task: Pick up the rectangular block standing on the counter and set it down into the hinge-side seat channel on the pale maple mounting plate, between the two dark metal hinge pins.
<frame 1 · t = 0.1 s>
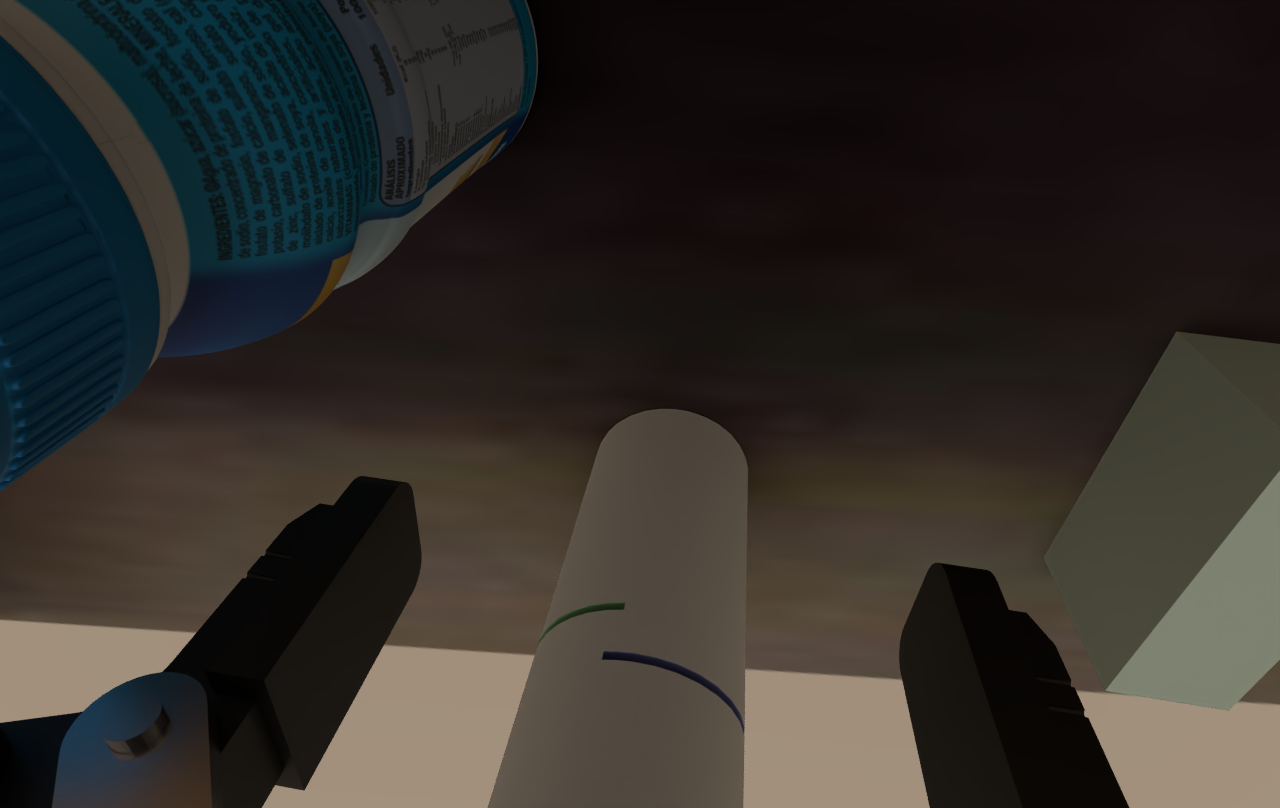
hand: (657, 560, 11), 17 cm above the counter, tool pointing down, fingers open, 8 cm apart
rectangular block: (1157, 464, 28), on the counter
cylindrical container: (671, 468, 32), on the counter
beverage bottle: (427, 44, 23), on the counter
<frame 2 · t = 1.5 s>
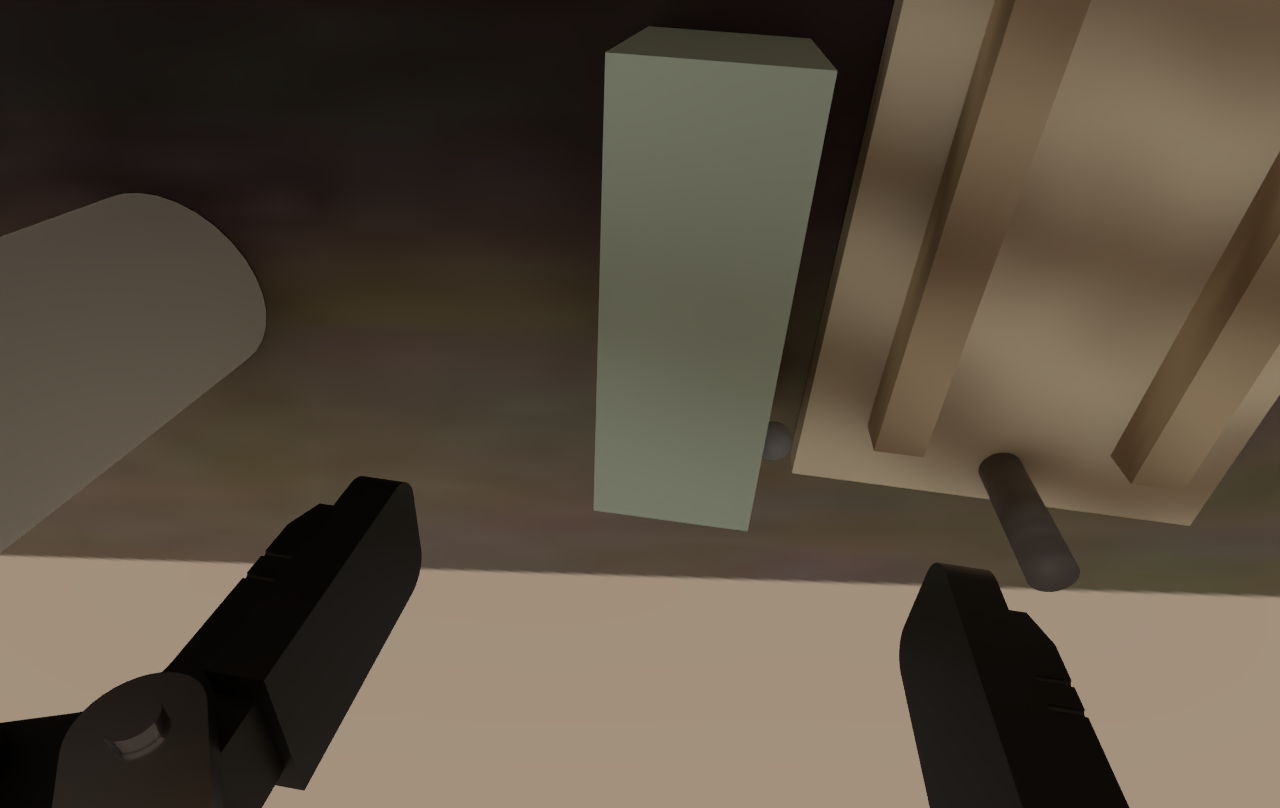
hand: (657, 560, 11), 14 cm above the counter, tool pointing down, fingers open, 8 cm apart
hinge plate: (1089, 216, 20), on the counter
rectangular block: (705, 239, 22), on the counter
cylindrical container: (178, 285, 26), on the counter
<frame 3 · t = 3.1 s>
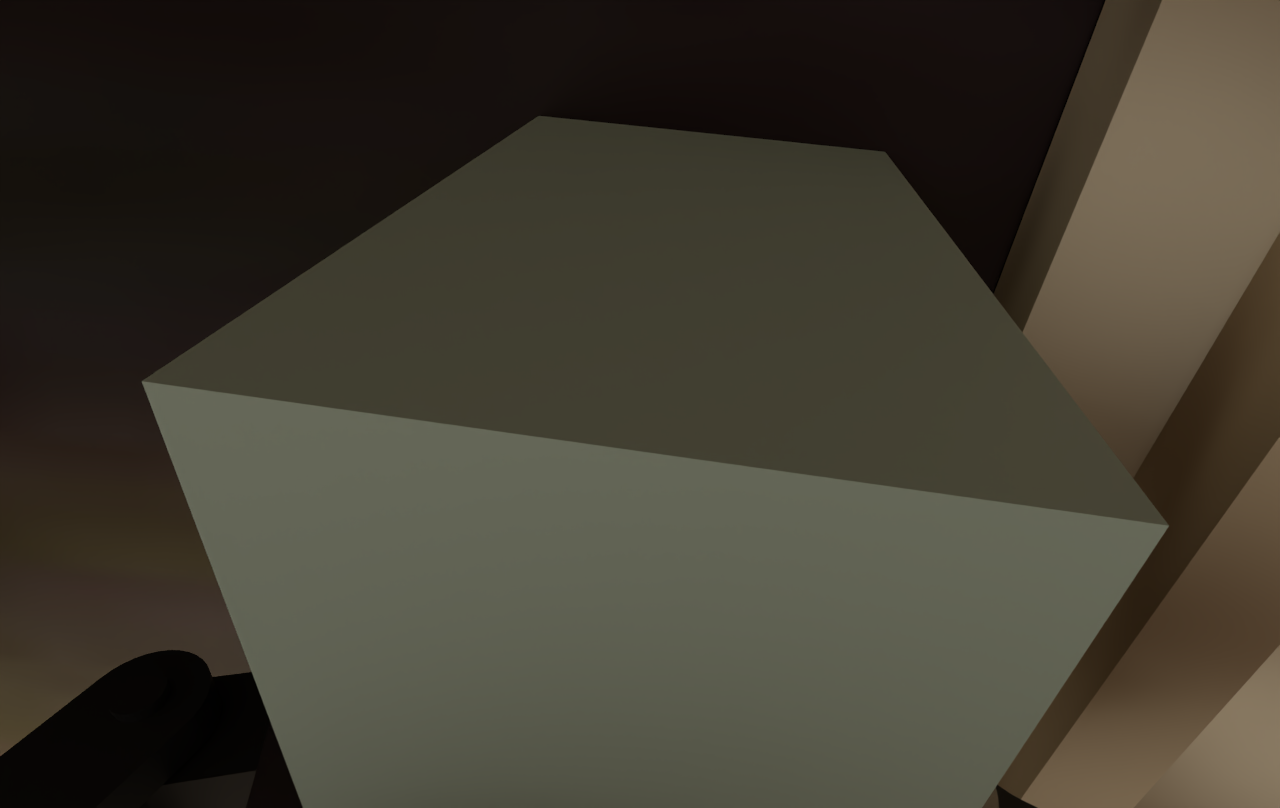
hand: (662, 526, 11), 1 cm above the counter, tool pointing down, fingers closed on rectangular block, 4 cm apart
rectangular block: (665, 490, 12), on the counter, touching gripper
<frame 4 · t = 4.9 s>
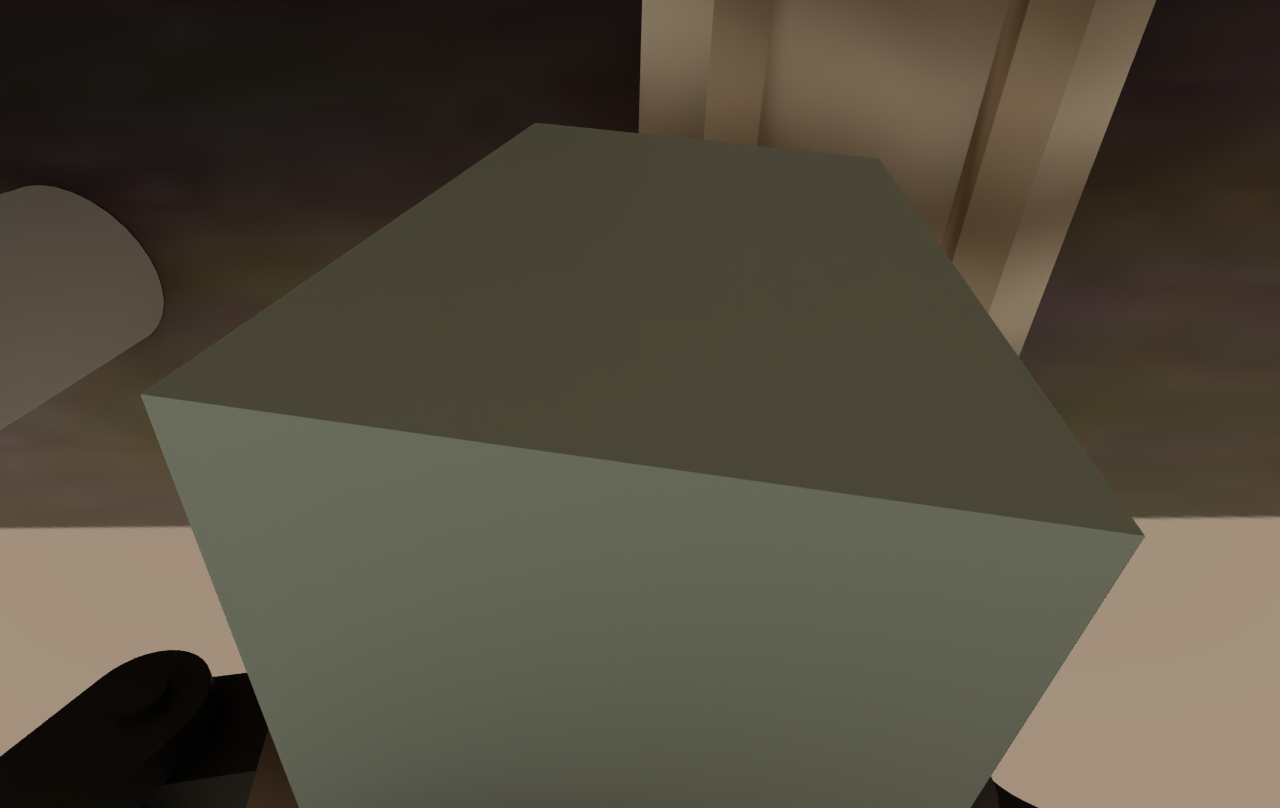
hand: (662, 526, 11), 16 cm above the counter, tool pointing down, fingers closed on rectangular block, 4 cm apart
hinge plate: (847, 173, 23), on the counter
rectangular block: (662, 493, 12), point 15 cm above the counter, touching gripper
cylindrical container: (84, 268, 29), on the counter
when the fingers open (4 cm above the counter, at t = 7.0 s): rectangular block drops 1 cm, resting on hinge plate.
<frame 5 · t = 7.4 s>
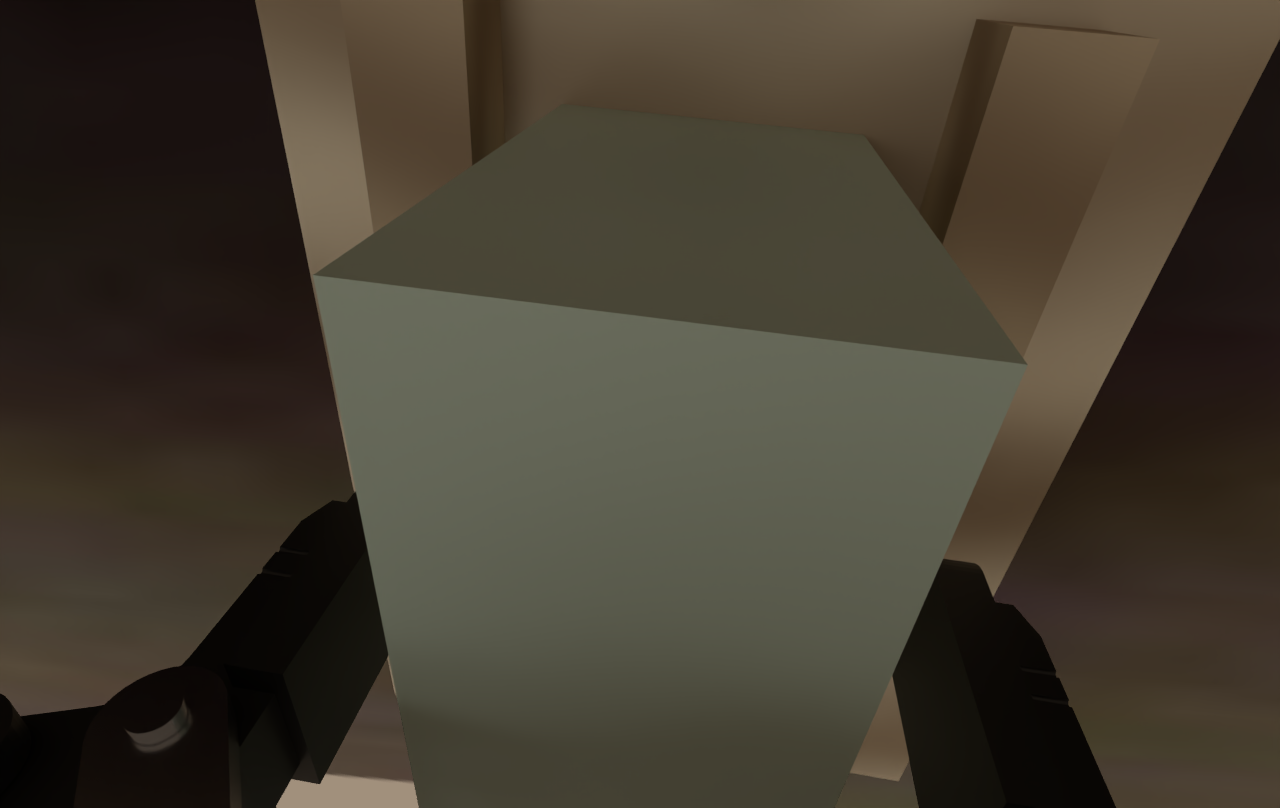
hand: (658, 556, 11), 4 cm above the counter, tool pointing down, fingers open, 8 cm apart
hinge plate: (681, 409, 14), on the counter
rectangular block: (671, 444, 13), point 1 cm above the counter, touching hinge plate
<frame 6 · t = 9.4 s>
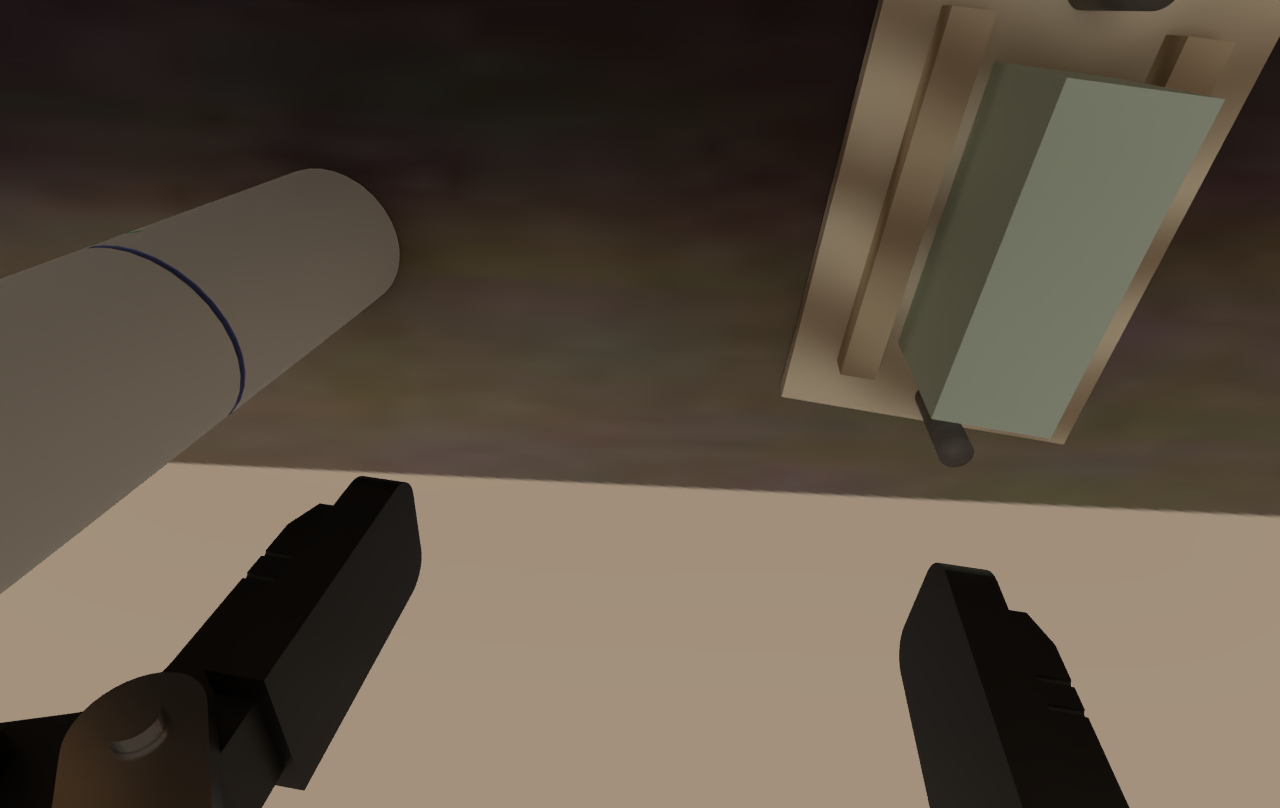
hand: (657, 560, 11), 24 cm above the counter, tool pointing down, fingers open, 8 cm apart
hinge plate: (988, 216, 30), on the counter
rectangular block: (994, 224, 29), point 1 cm above the counter, touching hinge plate
cylindrical container: (335, 239, 35), on the counter
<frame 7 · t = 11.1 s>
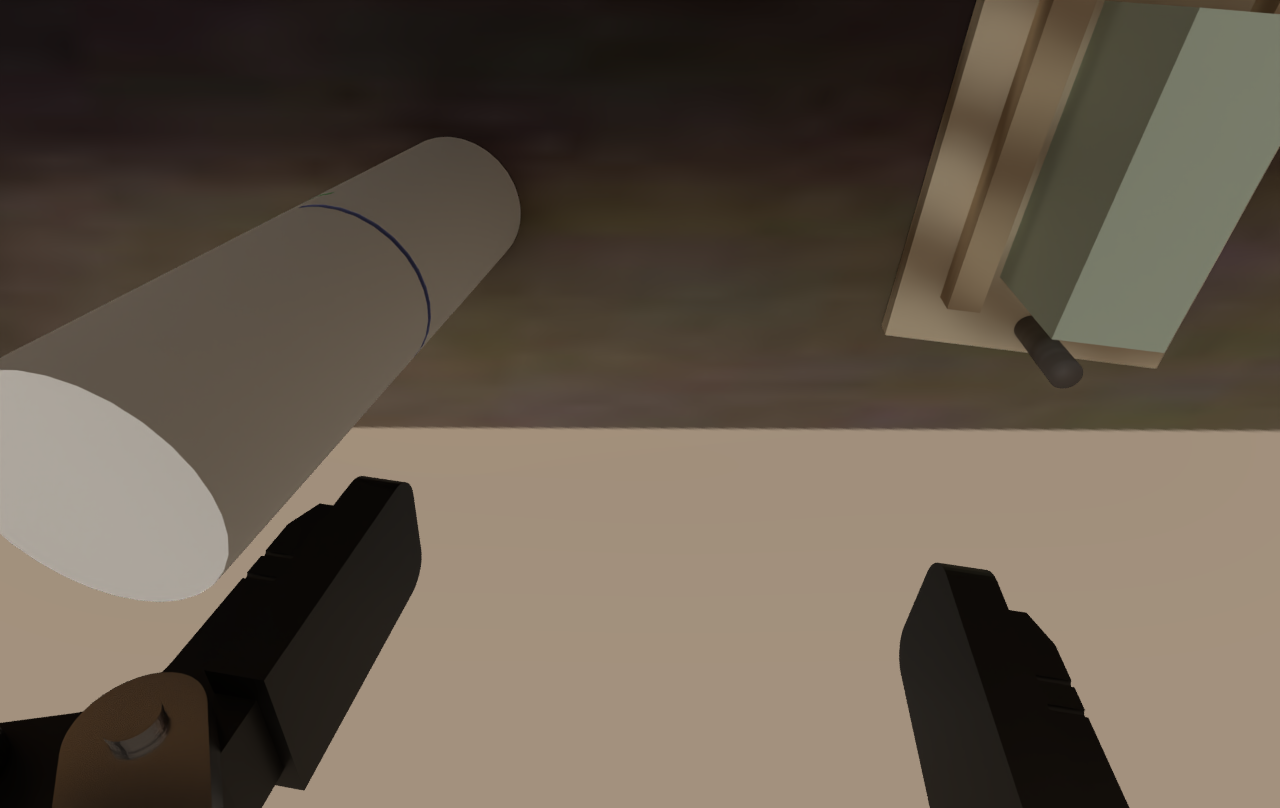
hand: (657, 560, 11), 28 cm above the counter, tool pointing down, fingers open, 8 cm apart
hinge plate: (1089, 151, 32), on the counter
rectangular block: (1098, 158, 31), point 1 cm above the counter, touching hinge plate
cylindrical container: (458, 204, 38), on the counter
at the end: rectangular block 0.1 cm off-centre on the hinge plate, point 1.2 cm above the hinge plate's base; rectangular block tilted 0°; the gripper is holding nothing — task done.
